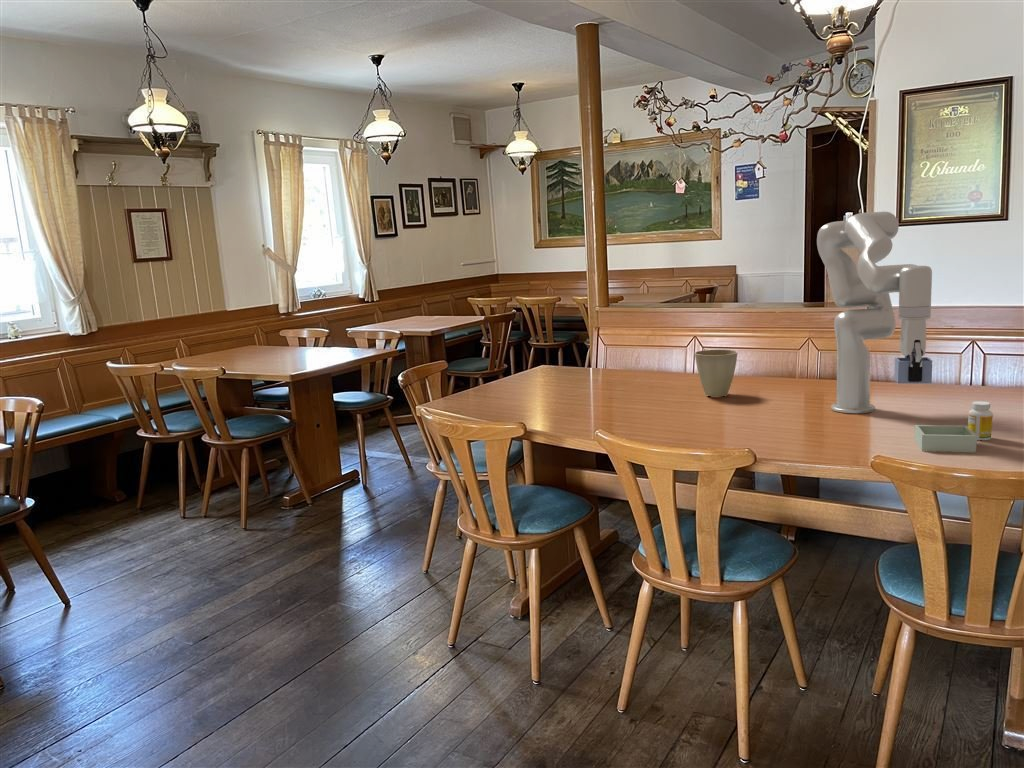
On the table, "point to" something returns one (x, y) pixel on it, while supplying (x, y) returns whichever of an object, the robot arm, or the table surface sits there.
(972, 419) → the supplement bottle
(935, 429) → the large crate
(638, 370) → the table surface
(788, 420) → the table surface
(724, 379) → the plant pot
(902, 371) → the small crate
